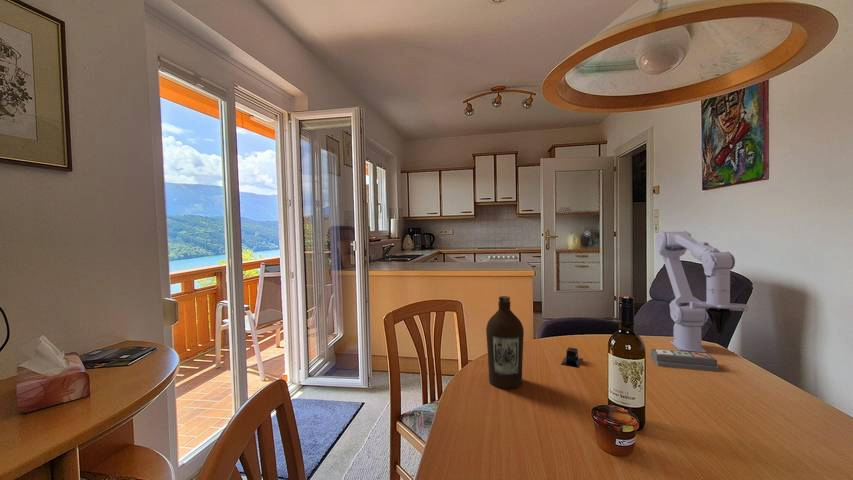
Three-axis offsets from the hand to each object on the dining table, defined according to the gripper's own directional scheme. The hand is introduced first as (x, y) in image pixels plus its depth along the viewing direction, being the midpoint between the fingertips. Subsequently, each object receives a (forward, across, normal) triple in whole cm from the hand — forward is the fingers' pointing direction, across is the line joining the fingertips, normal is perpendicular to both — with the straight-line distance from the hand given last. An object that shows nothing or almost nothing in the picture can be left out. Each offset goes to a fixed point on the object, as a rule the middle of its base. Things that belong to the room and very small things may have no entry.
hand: (718, 332), depth 110 cm
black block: (+11, -44, -10) cm, 46 cm away
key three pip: (+9, -5, -2) cm, 11 cm away
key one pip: (+9, -15, -2) cm, 18 cm away
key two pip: (+9, -10, -2) cm, 14 cm away
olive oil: (+11, -63, -32) cm, 72 cm away
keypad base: (+10, -10, -2) cm, 15 cm away
